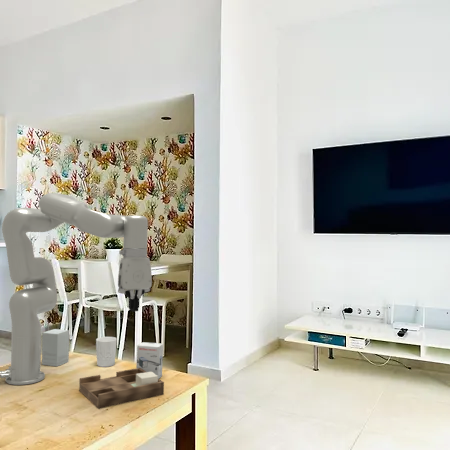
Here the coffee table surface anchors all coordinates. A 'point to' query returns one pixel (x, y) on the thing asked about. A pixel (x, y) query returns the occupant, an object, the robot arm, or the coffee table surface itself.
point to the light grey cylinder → (106, 351)
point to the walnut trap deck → (118, 388)
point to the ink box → (150, 357)
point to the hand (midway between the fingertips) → (133, 310)
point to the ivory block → (146, 378)
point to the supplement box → (55, 347)
